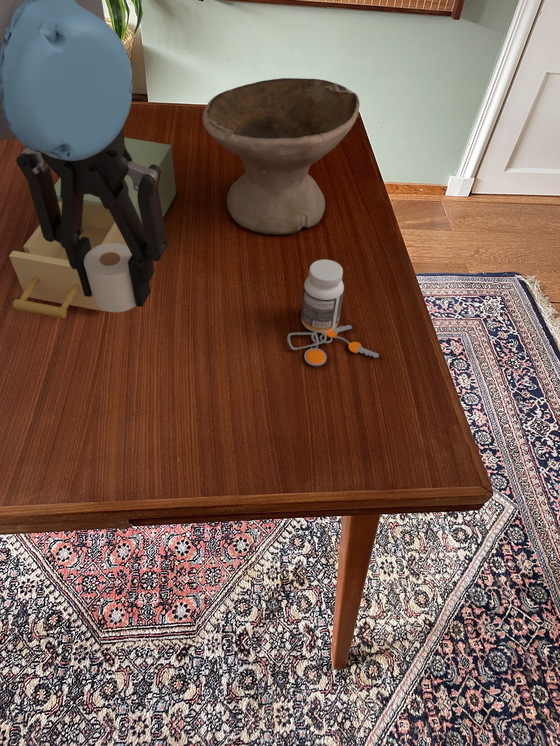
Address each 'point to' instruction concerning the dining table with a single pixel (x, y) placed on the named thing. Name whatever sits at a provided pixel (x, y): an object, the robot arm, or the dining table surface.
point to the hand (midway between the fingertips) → (117, 293)
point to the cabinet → (146, 156)
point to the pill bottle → (322, 296)
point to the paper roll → (110, 277)
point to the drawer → (59, 265)
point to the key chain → (319, 356)
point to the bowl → (279, 147)
